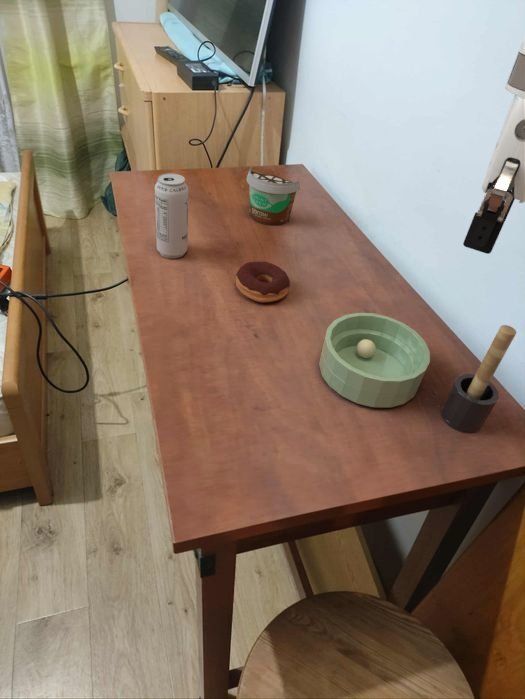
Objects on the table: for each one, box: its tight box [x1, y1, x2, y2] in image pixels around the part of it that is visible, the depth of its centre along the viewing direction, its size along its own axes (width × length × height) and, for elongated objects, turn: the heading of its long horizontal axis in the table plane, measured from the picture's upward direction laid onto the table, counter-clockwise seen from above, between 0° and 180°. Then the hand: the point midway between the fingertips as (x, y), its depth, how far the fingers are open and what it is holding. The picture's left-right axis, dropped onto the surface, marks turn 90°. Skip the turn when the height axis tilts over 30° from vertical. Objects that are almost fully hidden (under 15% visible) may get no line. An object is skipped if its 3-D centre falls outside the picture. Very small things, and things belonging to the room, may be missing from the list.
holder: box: [440, 373, 500, 434], centre depth 73 cm, size 6×6×6 cm
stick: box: [466, 324, 517, 400], centre depth 69 cm, size 2×2×16 cm
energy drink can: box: [154, 172, 189, 259], centre depth 96 cm, size 6×6×15 cm
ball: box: [356, 339, 376, 358], centre depth 81 cm, size 3×3×3 cm
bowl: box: [318, 312, 431, 409], centre depth 78 cm, size 16×16×6 cm
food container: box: [246, 166, 301, 226], centre depth 113 cm, size 12×6×10 cm, turn 68°
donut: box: [235, 260, 291, 304], centre depth 93 cm, size 10×10×4 cm
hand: (484, 233), depth 62 cm, fingers open, 9 cm apart
